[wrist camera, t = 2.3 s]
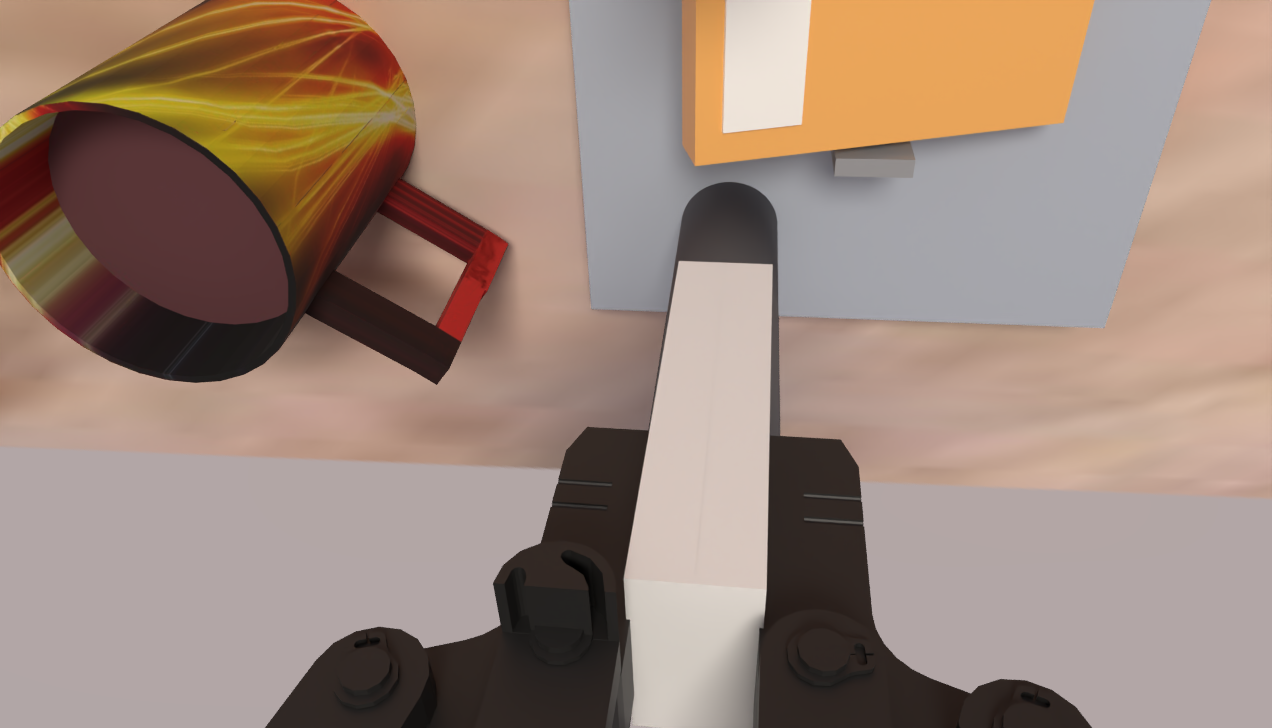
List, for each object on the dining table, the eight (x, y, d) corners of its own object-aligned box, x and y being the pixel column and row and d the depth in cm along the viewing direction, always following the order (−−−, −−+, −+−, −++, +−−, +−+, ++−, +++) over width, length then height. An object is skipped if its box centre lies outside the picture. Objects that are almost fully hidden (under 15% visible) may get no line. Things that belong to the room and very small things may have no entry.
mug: (513, 246, 40) (434, 427, 31) (200, 192, 41) (26, 356, 31) (526, 21, 35) (433, 159, 25) (159, -41, 35) (-71, 74, 25)
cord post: (681, 265, 36) (642, 530, 25) (681, 180, 34) (638, 430, 23) (774, 268, 36) (776, 539, 25) (780, 182, 34) (785, 438, 23)
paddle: (682, 148, 29) (696, 171, 28) (681, -66, 25) (698, -52, 24) (1035, 107, 31) (1065, 127, 29) (1083, -99, 27) (1120, -87, 26)
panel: (601, 271, 41) (575, 368, 35) (555, -465, 26) (497, -499, 21) (1083, 286, 38) (1136, 392, 33) (1322, -508, 24) (1488, -559, 18)
